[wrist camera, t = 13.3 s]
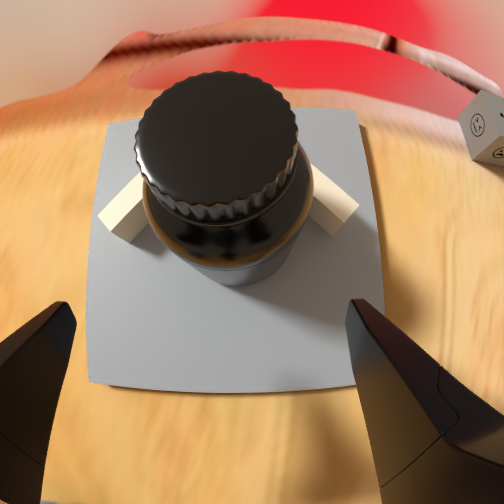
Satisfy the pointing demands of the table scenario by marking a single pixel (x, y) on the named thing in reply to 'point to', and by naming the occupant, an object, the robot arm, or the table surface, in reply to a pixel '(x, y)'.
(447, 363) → the table surface
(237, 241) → the supplement bottle
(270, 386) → the v cradle
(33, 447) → the robot arm
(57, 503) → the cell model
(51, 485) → the table surface
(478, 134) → the dice cube
